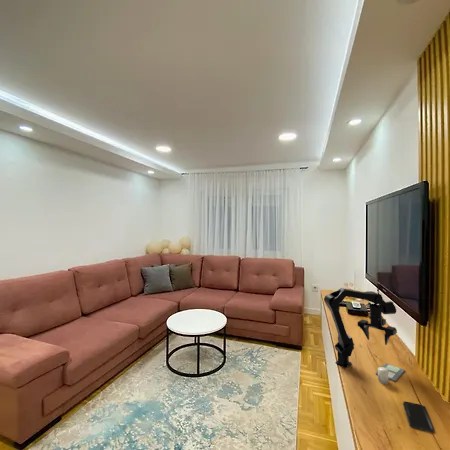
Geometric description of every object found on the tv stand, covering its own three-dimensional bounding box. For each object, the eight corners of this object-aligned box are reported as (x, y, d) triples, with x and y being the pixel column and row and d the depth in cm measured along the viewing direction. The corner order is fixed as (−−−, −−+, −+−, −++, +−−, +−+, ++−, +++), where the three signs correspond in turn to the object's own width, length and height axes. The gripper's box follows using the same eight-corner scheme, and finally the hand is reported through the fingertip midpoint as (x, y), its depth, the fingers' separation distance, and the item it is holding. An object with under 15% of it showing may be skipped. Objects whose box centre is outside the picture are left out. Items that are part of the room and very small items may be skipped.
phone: (424, 405, 109) (434, 431, 96) (424, 408, 109) (435, 434, 96) (402, 400, 113) (409, 425, 99) (402, 403, 113) (409, 428, 99)
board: (395, 381, 127) (395, 380, 127) (375, 374, 134) (375, 372, 134) (404, 370, 136) (404, 369, 136) (385, 364, 143) (385, 362, 143)
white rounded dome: (386, 385, 125) (386, 372, 125) (376, 381, 128) (376, 369, 128) (390, 381, 128) (389, 369, 128) (380, 377, 131) (379, 365, 131)
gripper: (399, 315, 144) (401, 342, 144) (364, 307, 158) (366, 333, 158) (392, 320, 137) (393, 349, 137) (356, 312, 151) (357, 338, 151)
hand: (377, 342), depth 146 cm, fingers open, 9 cm apart
